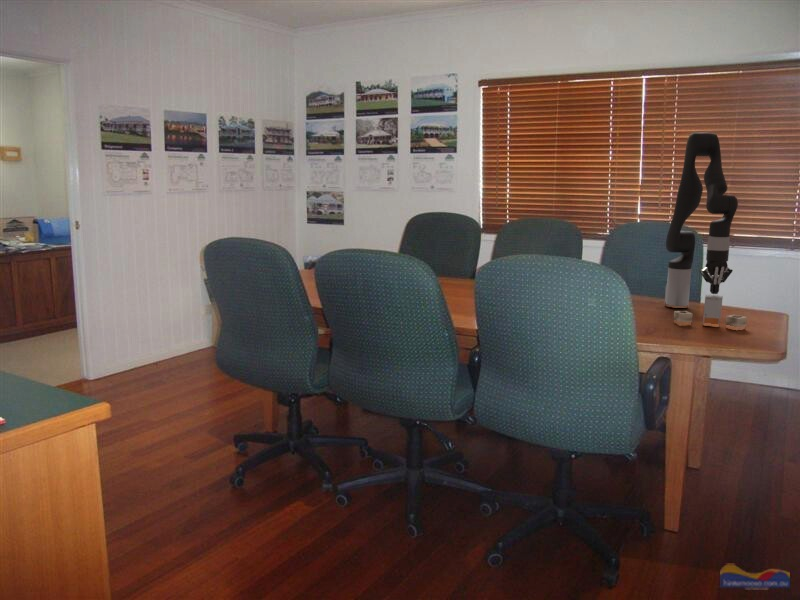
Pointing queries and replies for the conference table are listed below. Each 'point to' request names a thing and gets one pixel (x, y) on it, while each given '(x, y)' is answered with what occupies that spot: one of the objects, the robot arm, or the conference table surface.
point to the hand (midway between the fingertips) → (714, 293)
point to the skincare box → (712, 309)
